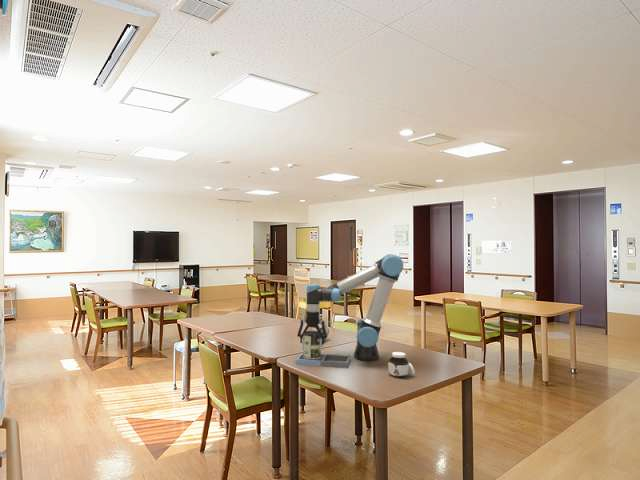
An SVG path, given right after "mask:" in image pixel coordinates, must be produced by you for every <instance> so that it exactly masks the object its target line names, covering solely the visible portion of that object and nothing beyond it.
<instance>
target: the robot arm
mask: <svg viewBox="0 0 640 480" xmlns="http://www.w3.org/2000/svg"><path fill="white" fill-rule="evenodd" d="M403 270H404V262H403V259H402V258H401V257H400V256H398V255H396V254H391V253H390V254H386V255H385V256H383V257H382V258H380V259H379V260H377V261H375V262H374V264H373V265H370V266H369V267H366V268H364V269H362V270H361V271H359V272H356V273H354V274H352V275H351V276H348V277H346V278H344V279H341V280H340V281H337V282H336V283H334V284H332V285H329V286H327V287H321V284H318V283H309V284H308V285H307V286H306V304H305V305H306V306H305V308H306V313H305V319H302V318H301V320H300V326H299V328H298V331H297V337H299V343H300V344H301V350H302V351H303V342H304V334H303V333H305V332H306V331H308V329H309V327H313V328H316V329H317V331H318V333H319V334H320V336H321V339H320V351H321V352H322V351H323V345H324V344H325V340H326V339H327V338H328V336H327V333H326V329H325V325H326V324H325V323H326V322H325V320H321V319H320V302H333V303H334V302H341V295H344V294H346V293H348V292H350V291H352V290H354V289H356V288H357V287H361V286H362V285H364V284H366V283H369V282H371V281H372V280H375V279H377V278H378V281H377V284H376V287H375V288H374V289H375V290H374V292H373V294H372V299H371V301H370V304H369V307H368V310H367V312H366V315H365V317H363V318H359V319H358V320H357V323H356V346H355V350H354V353H353V358H354V359H355V360H359V361H364V362H373V361H377V360H379V359H380V353H379V350H378V347H377V345H378V344H377V343H378V341H379V335H380V332H381V329H382V324H381V320H382V318H383V315H384V312H385V309H386V306H387V304H388V301H389V297H390V294H391V292H392V291H393V290H392V289H393V286H394V284H395V283H397V282H398V280H399V279H400V278H399V277H400V276H401V273H402V272H403ZM319 319H320V320H319ZM319 323H320V324H321V325H322V329H323V333H324V335H323V334H322V332H321V330H320V328H319V326H318V324H319ZM304 324H306V325H305V327H304ZM303 327H304V329H303ZM325 338H326V339H325ZM324 339H325V340H324Z"/></svg>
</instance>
